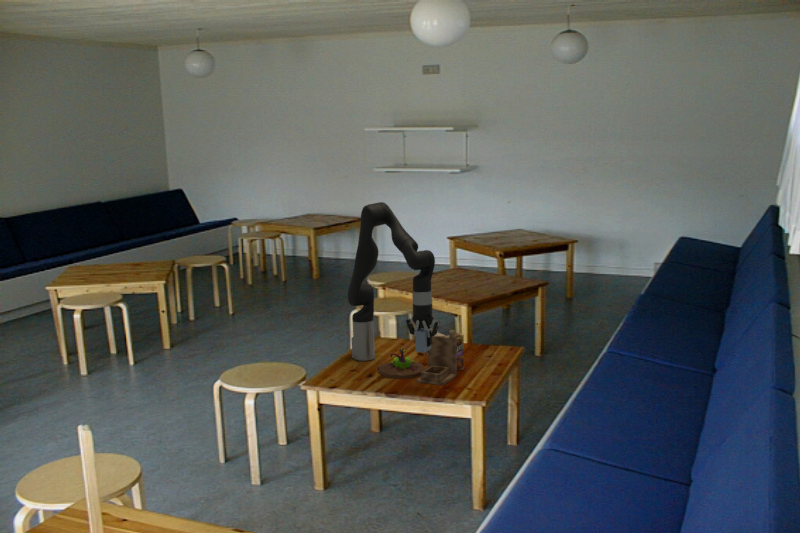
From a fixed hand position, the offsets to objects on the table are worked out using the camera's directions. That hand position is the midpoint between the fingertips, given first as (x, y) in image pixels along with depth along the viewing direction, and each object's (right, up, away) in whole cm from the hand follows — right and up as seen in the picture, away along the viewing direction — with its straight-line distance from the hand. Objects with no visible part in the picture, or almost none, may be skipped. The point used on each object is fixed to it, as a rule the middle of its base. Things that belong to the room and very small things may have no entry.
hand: (423, 345), depth 291 cm
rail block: (0, -2, 0) cm, 2 cm away
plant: (-8, -14, +24) cm, 29 cm away
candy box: (+13, -13, +24) cm, 31 cm away
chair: (+6, -15, +13) cm, 21 cm away
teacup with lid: (+7, -10, +45) cm, 47 cm away
